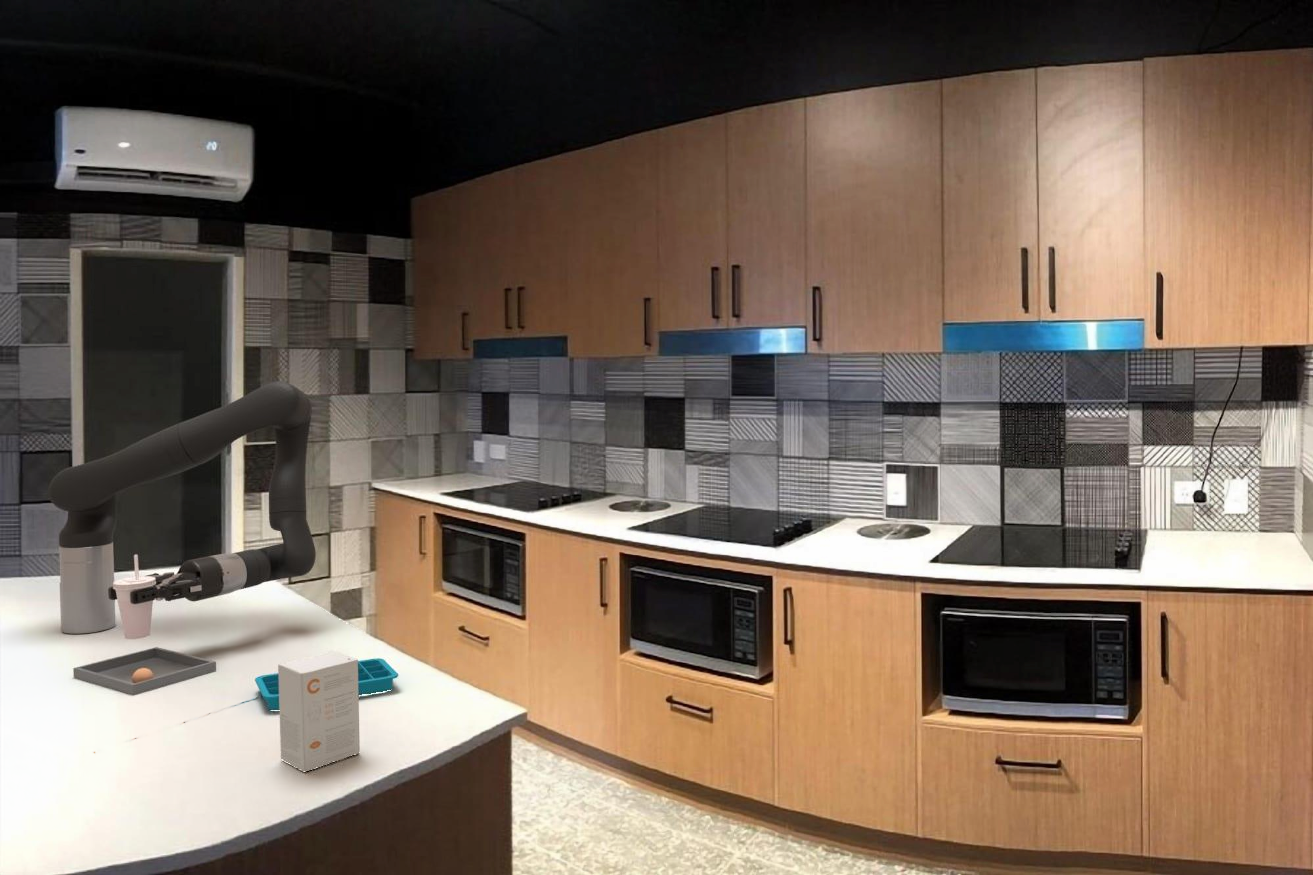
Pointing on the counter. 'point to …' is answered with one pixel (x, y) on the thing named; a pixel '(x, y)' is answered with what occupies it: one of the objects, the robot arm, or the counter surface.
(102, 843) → the counter surface
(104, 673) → the tray
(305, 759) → the small box
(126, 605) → the smoothie
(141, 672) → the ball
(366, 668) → the ice cube tray
